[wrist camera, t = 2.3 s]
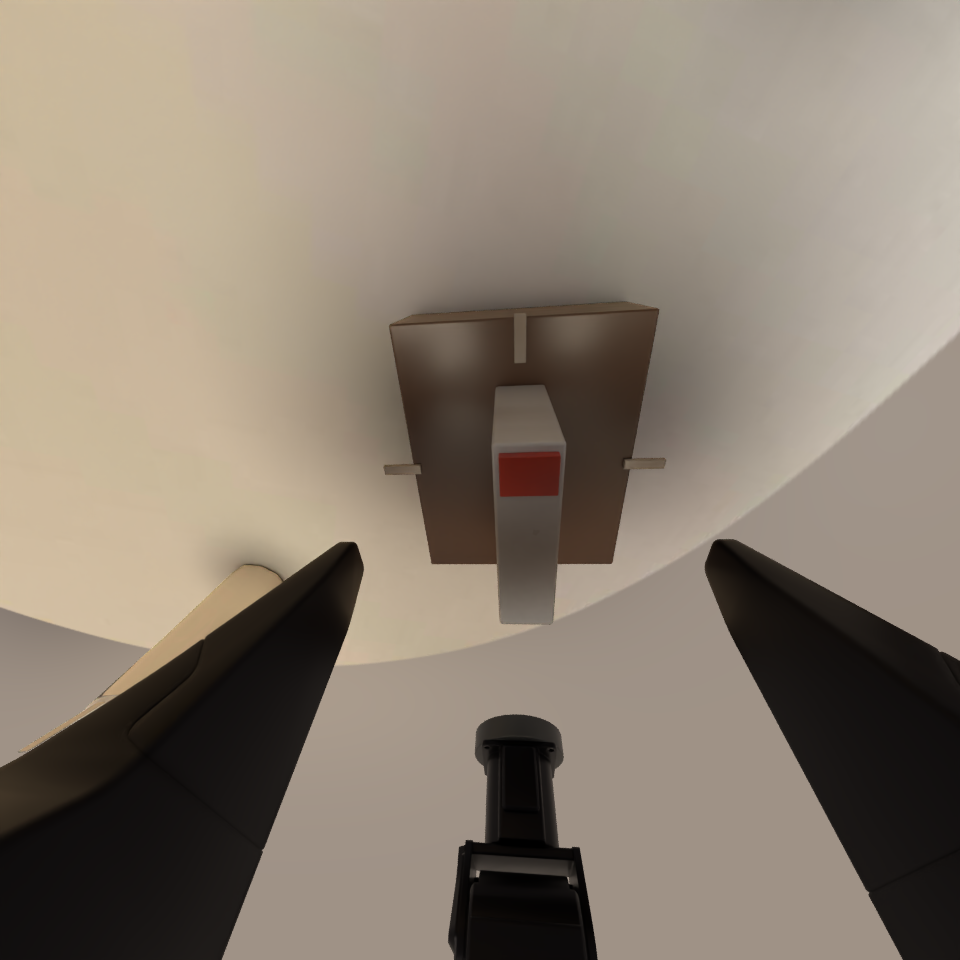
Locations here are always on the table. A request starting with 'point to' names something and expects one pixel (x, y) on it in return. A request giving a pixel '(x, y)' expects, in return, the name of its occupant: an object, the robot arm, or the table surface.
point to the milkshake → (188, 632)
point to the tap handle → (527, 502)
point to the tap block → (470, 410)
